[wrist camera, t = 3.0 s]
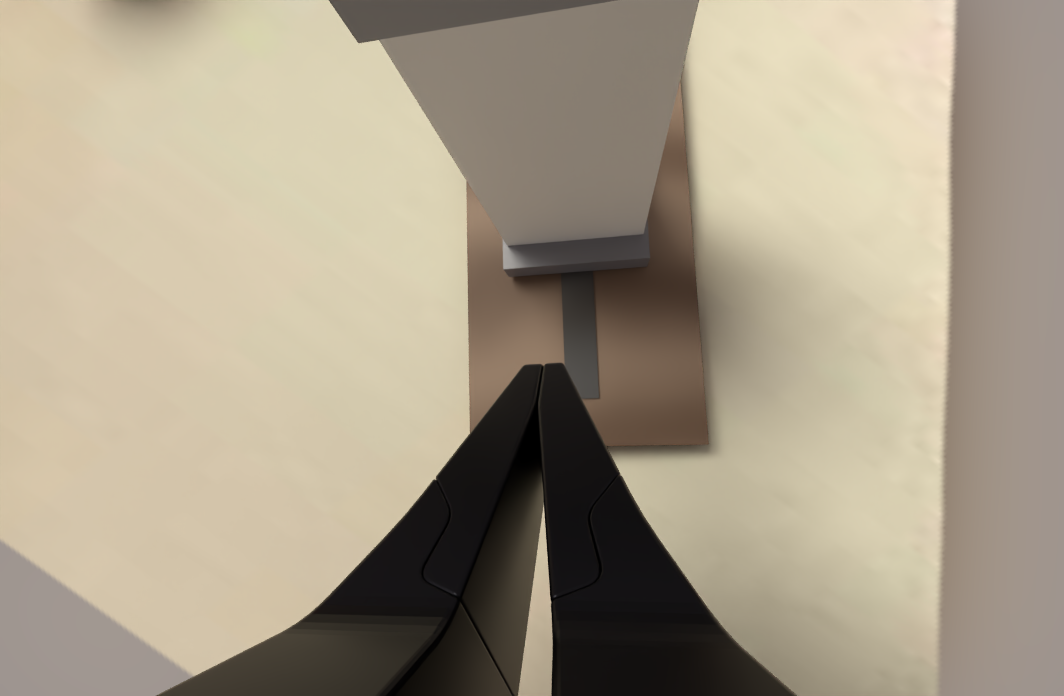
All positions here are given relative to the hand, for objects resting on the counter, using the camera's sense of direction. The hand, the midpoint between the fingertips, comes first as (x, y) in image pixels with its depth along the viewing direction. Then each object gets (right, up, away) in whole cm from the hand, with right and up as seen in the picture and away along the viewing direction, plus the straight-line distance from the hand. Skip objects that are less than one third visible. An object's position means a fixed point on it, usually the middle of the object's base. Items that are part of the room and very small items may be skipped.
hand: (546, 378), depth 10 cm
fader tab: (+2, +6, +10) cm, 12 cm away
